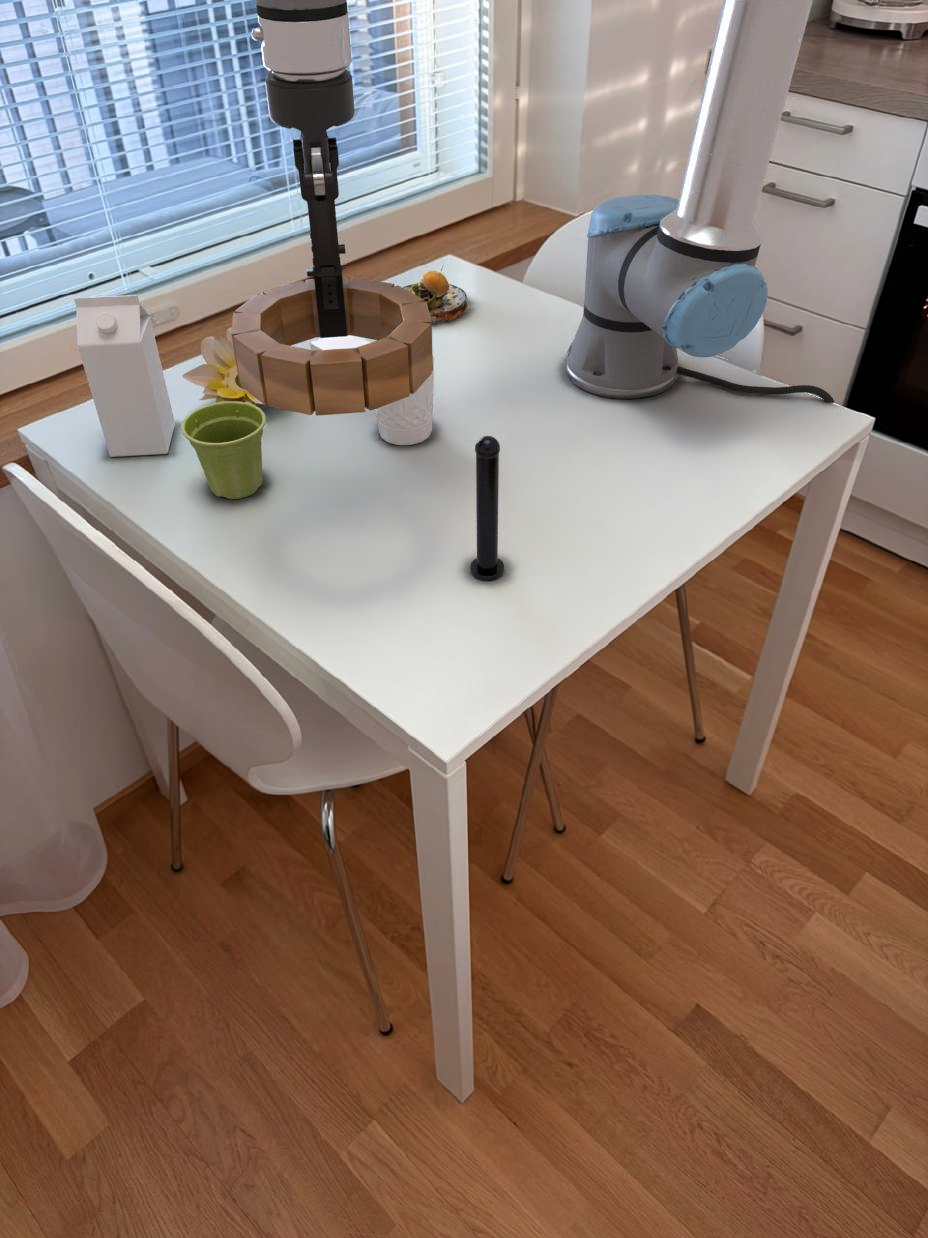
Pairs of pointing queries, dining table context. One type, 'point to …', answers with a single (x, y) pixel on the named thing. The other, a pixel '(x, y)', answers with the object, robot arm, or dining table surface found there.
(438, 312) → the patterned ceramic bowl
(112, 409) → the milk carton
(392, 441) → the white cup
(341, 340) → the white cube
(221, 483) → the plant pot
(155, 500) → the dining table surface
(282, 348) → the ring
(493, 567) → the peg
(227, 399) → the decorative flower
